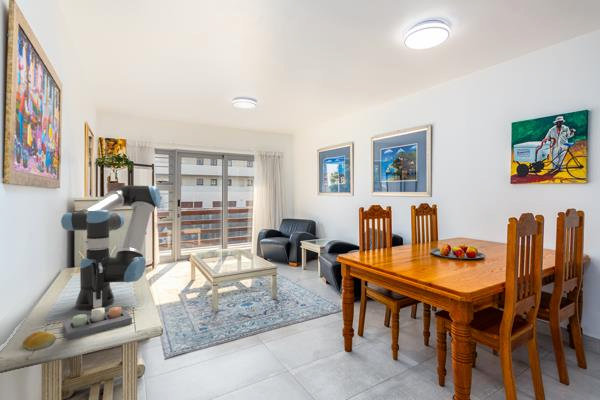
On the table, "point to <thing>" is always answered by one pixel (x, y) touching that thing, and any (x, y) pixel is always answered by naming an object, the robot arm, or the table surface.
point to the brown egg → (114, 312)
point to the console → (96, 325)
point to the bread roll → (38, 340)
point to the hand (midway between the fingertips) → (97, 306)
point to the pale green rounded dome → (79, 320)
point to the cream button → (97, 314)
